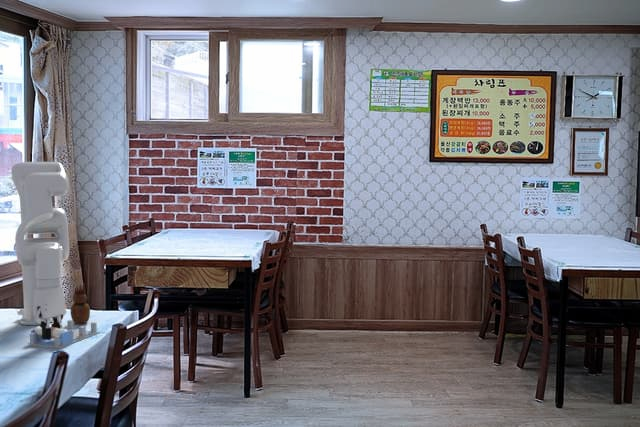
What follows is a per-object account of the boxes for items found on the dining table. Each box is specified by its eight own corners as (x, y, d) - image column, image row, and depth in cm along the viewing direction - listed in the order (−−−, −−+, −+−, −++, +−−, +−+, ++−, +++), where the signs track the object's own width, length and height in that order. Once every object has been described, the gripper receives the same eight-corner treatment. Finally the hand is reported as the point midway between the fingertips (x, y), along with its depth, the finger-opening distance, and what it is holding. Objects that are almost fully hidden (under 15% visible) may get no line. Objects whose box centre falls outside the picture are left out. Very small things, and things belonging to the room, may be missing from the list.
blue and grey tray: (28, 344, 215) (27, 331, 214) (68, 330, 233) (67, 317, 232) (60, 348, 210) (59, 334, 210) (98, 333, 228) (98, 320, 228)
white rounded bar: (35, 338, 216) (33, 328, 215) (42, 334, 219) (41, 324, 219) (61, 341, 212) (60, 331, 212) (69, 337, 216) (68, 327, 215)
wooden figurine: (93, 321, 244) (91, 282, 243) (83, 325, 238) (81, 285, 237) (78, 320, 246) (77, 281, 245) (68, 324, 241) (66, 284, 239)
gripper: (57, 277, 223) (60, 330, 225) (20, 287, 207) (23, 343, 209) (75, 279, 221) (77, 332, 222) (39, 288, 205) (42, 345, 207)
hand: (51, 337), depth 216 cm, fingers closed on white rounded bar, 3 cm apart
